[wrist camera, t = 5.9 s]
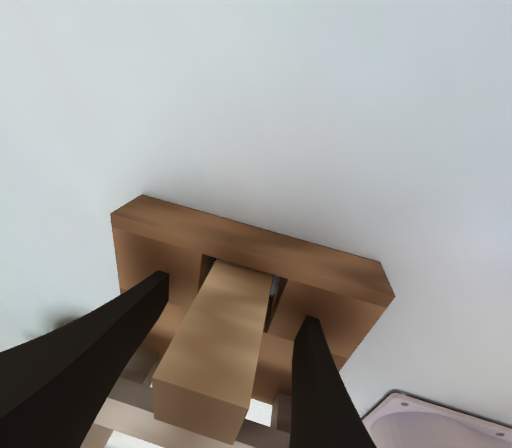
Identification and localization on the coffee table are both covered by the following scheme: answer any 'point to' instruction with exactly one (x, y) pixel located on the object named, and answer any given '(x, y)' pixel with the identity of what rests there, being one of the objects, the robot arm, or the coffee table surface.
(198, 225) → the socket block
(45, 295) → the coffee table surface
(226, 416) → the peg
